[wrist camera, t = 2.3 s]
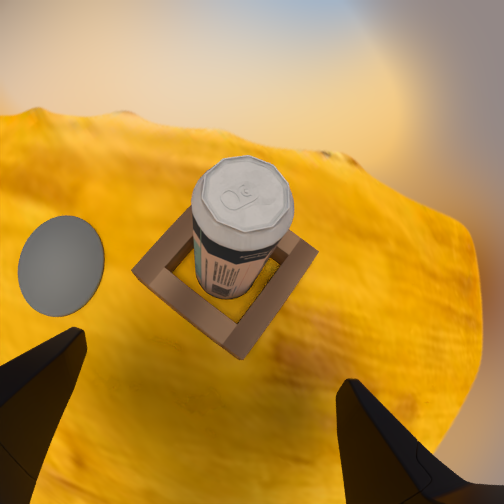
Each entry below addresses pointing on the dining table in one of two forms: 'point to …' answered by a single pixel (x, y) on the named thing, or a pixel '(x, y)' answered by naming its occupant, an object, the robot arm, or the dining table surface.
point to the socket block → (203, 313)
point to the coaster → (61, 266)
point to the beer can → (238, 223)
